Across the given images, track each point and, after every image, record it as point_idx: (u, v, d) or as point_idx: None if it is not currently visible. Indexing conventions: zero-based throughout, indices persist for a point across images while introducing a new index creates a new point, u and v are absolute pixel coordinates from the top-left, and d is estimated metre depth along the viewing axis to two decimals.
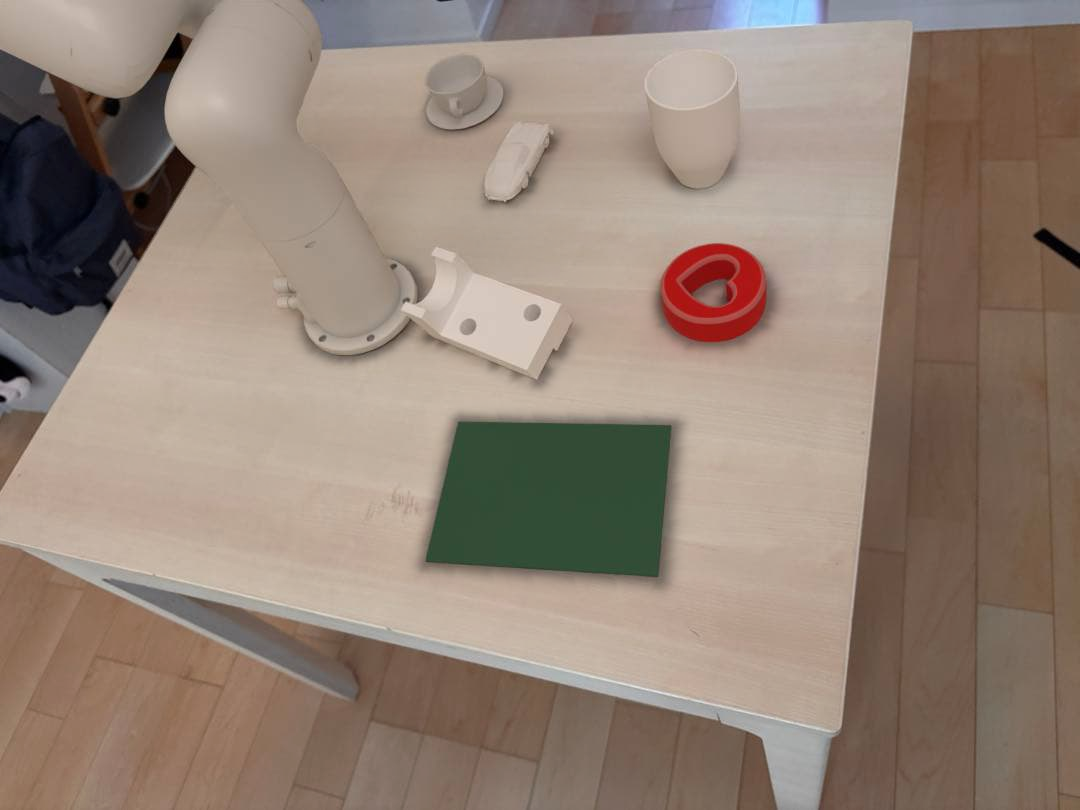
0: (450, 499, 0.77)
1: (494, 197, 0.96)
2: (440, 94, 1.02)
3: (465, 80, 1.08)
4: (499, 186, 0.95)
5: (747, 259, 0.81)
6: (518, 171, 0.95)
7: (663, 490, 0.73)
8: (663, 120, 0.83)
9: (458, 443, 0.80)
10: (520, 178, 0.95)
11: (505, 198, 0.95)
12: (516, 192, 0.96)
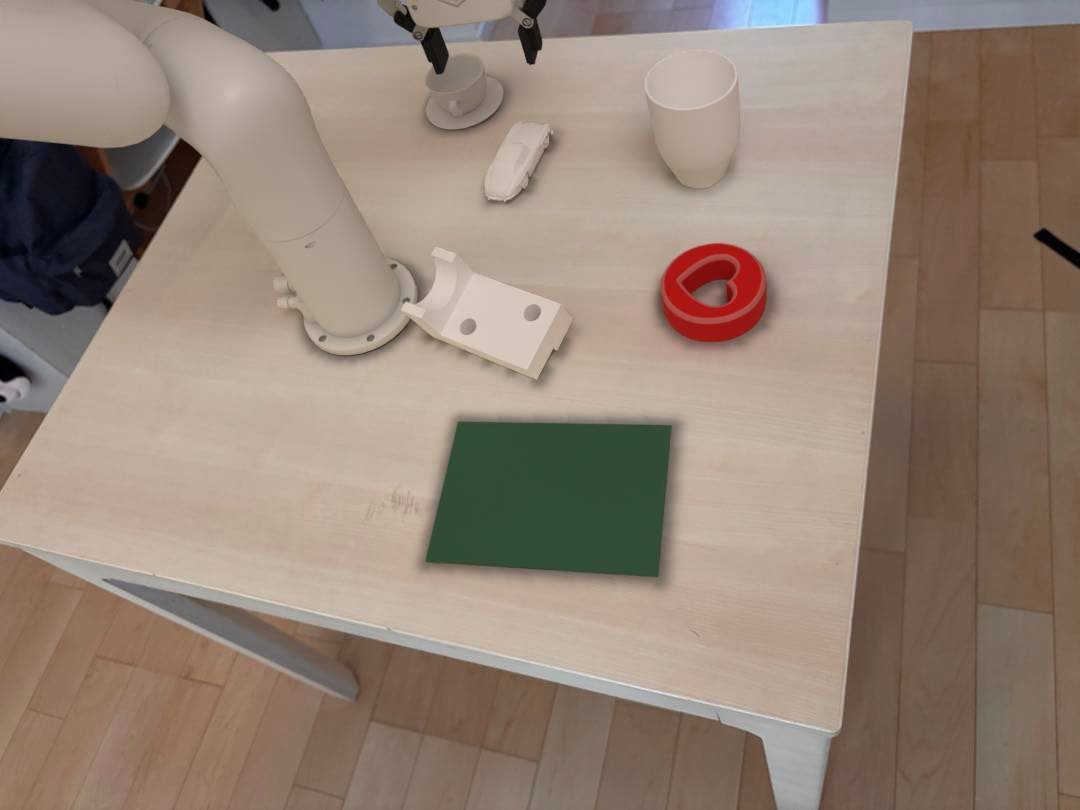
0: (450, 499, 0.77)
1: (494, 197, 0.96)
2: (440, 94, 1.02)
3: (465, 80, 1.08)
4: (499, 186, 0.95)
5: (747, 259, 0.81)
6: (518, 171, 0.95)
7: (663, 490, 0.73)
8: (663, 120, 0.83)
9: (458, 443, 0.80)
10: (520, 178, 0.95)
11: (505, 198, 0.95)
12: (516, 192, 0.96)
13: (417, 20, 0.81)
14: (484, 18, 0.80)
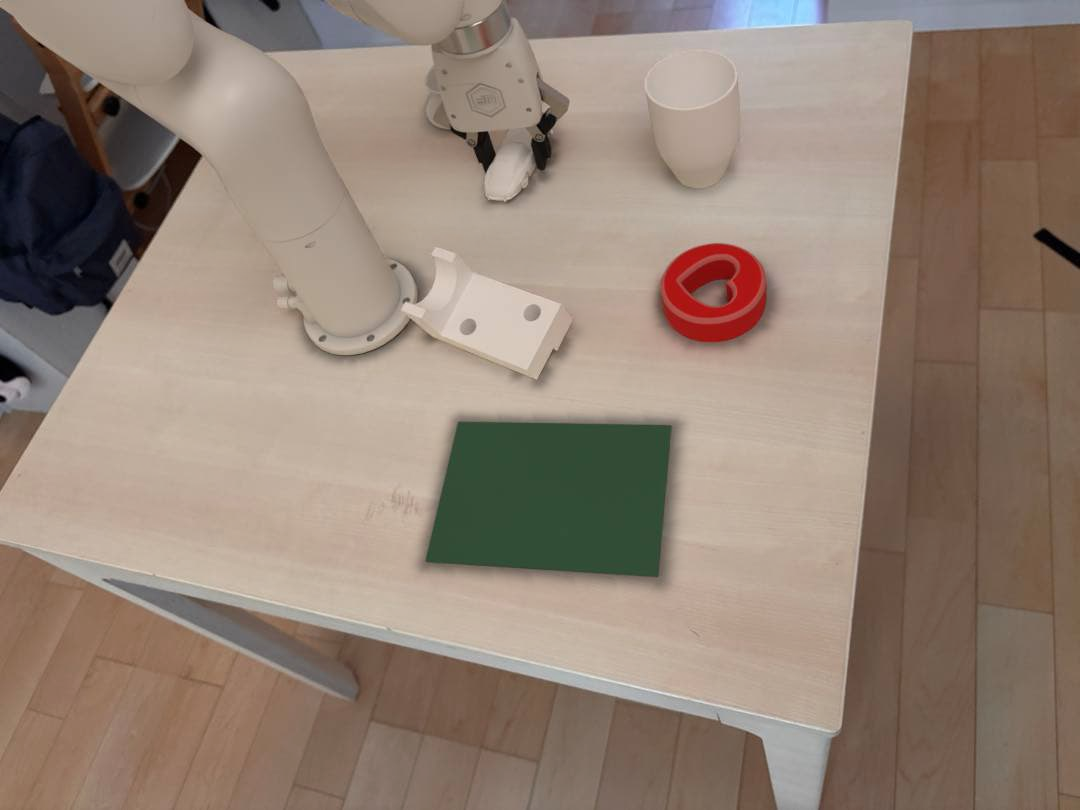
0: (450, 499, 0.77)
1: (494, 197, 0.96)
2: (440, 94, 1.02)
3: None
4: (499, 186, 0.95)
5: (747, 259, 0.81)
6: (518, 171, 0.95)
7: (663, 490, 0.73)
8: (663, 120, 0.83)
9: (458, 443, 0.80)
10: (520, 178, 0.95)
11: (505, 198, 0.95)
12: (516, 192, 0.96)
13: (455, 126, 0.92)
14: (515, 126, 0.90)
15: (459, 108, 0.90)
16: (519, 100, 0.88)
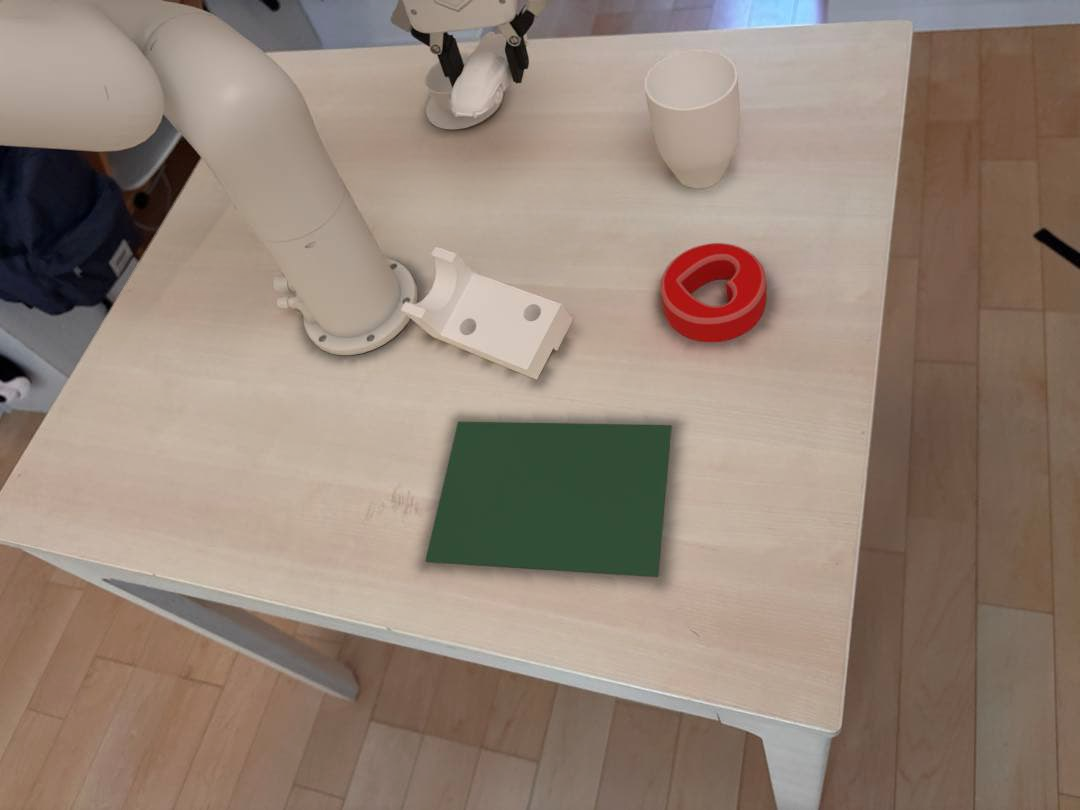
0: (450, 499, 0.77)
1: (463, 113, 0.83)
2: (440, 94, 1.02)
3: None
4: (468, 99, 0.82)
5: (747, 259, 0.81)
6: (490, 82, 0.82)
7: (663, 490, 0.73)
8: (663, 120, 0.83)
9: (458, 443, 0.80)
10: (493, 90, 0.82)
11: (475, 113, 0.82)
12: (488, 106, 0.82)
13: (416, 25, 0.79)
14: (486, 23, 0.77)
15: (420, 1, 0.76)
16: None
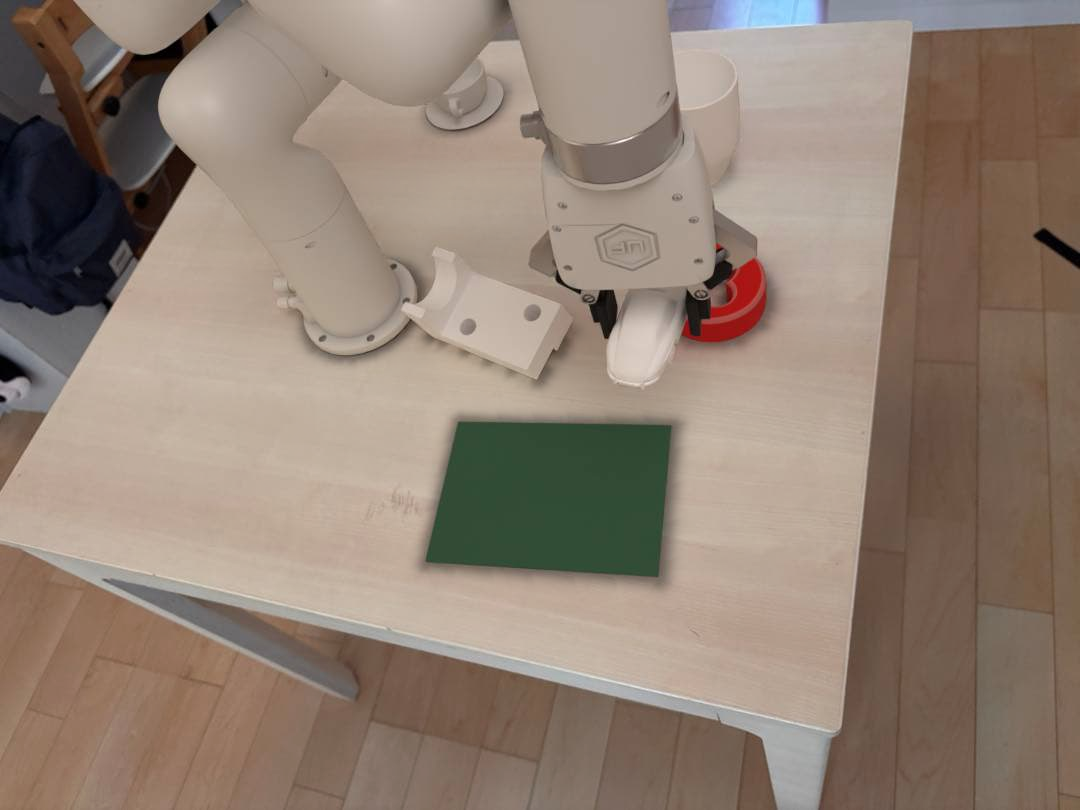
0: (450, 499, 0.77)
1: (625, 381, 0.61)
2: None
3: (465, 80, 1.08)
4: (634, 365, 0.60)
5: None
6: (662, 340, 0.60)
7: (663, 490, 0.73)
8: None
9: (458, 443, 0.80)
10: (667, 352, 0.60)
11: (643, 384, 0.60)
12: (660, 373, 0.60)
13: (569, 281, 0.57)
14: (670, 284, 0.55)
15: (580, 258, 0.54)
16: (685, 248, 0.52)
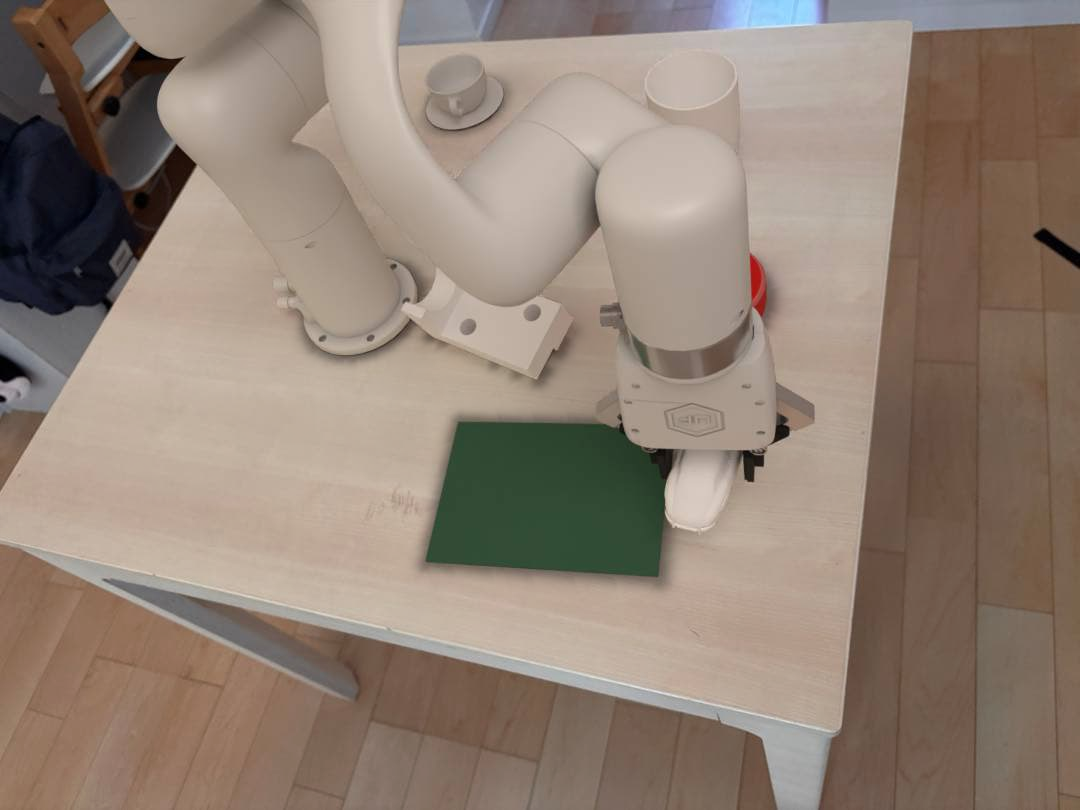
0: (450, 499, 0.77)
1: (682, 525, 0.64)
2: (440, 94, 1.02)
3: (465, 80, 1.08)
4: (692, 512, 0.63)
5: None
6: (719, 488, 0.63)
7: (663, 490, 0.73)
8: None
9: (458, 443, 0.80)
10: (723, 499, 0.63)
11: (701, 529, 0.63)
12: (716, 519, 0.64)
13: (634, 440, 0.60)
14: (731, 448, 0.58)
15: (647, 424, 0.58)
16: (749, 423, 0.56)
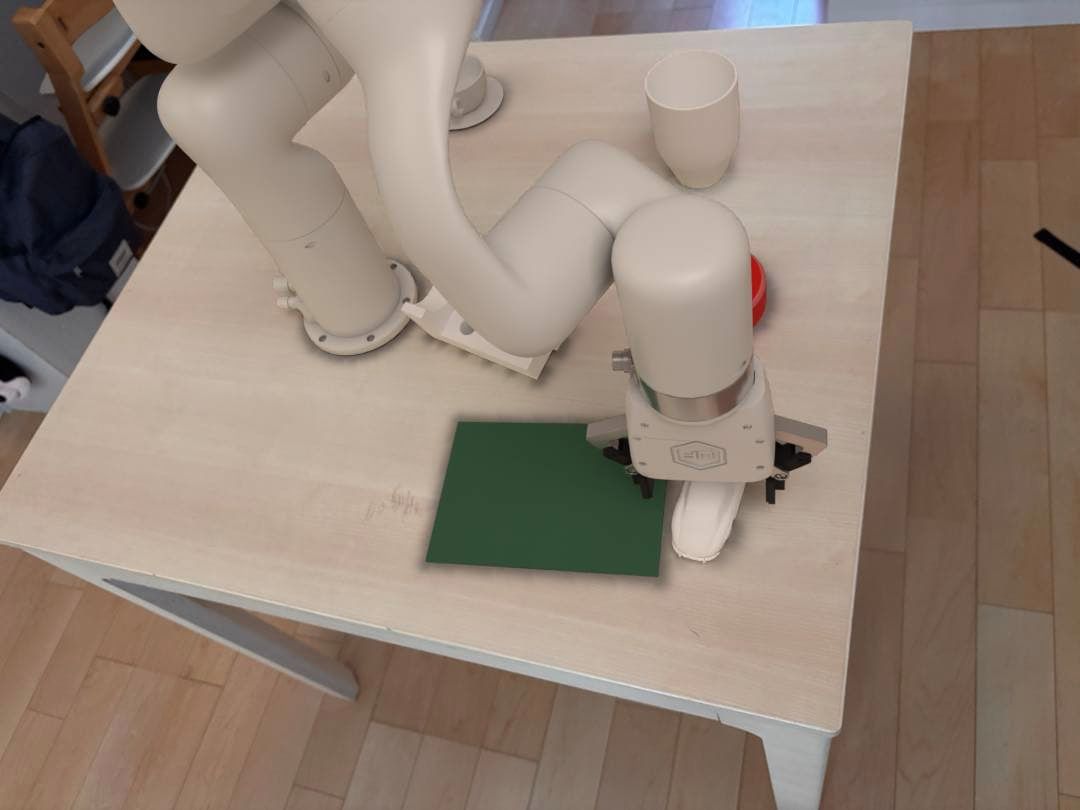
0: (450, 499, 0.77)
1: (688, 555, 0.69)
2: None
3: (465, 80, 1.08)
4: (697, 543, 0.68)
5: None
6: (722, 520, 0.68)
7: (663, 490, 0.73)
8: (663, 120, 0.83)
9: (458, 443, 0.80)
10: (726, 531, 0.68)
11: (705, 559, 0.68)
12: (720, 549, 0.68)
13: (642, 472, 0.64)
14: (732, 480, 0.62)
15: (654, 458, 0.62)
16: (749, 459, 0.60)
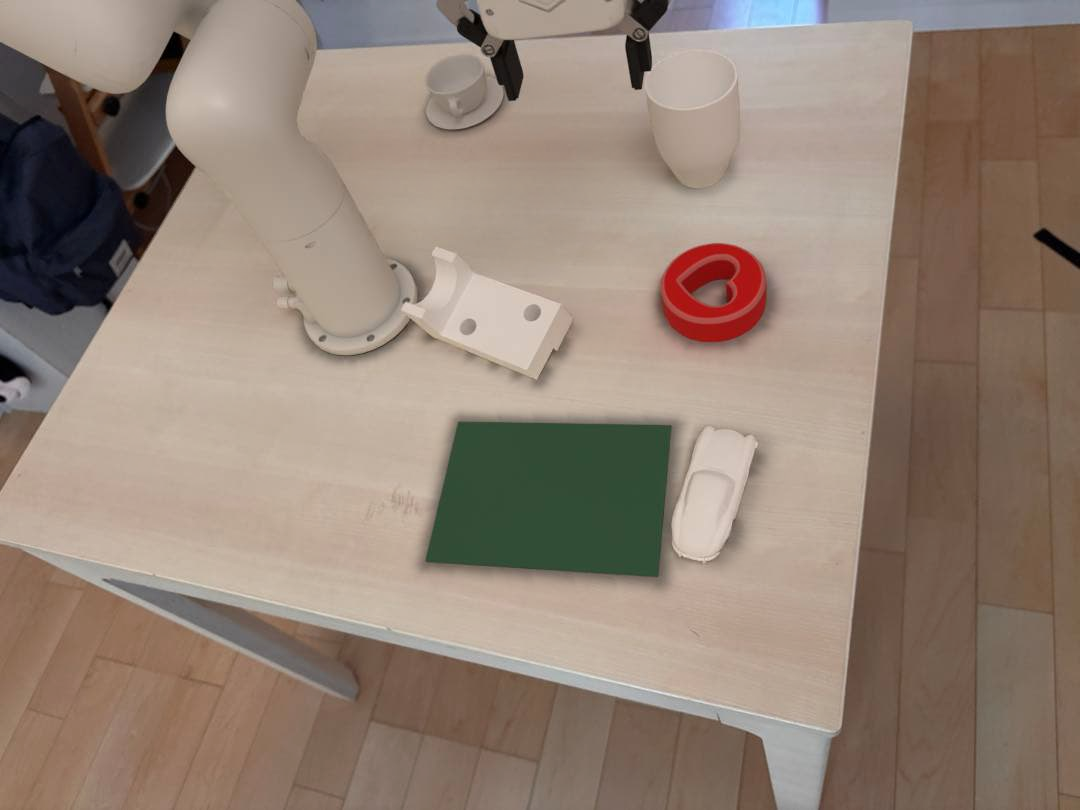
0: (450, 499, 0.77)
1: (688, 555, 0.69)
2: (440, 94, 1.02)
3: (465, 80, 1.08)
4: (697, 543, 0.68)
5: (747, 259, 0.81)
6: (722, 520, 0.68)
7: (663, 490, 0.73)
8: (663, 120, 0.83)
9: (458, 443, 0.80)
10: (726, 531, 0.68)
11: (705, 559, 0.68)
12: (720, 549, 0.68)
13: (491, 30, 0.60)
14: (584, 28, 0.59)
15: None
16: None
